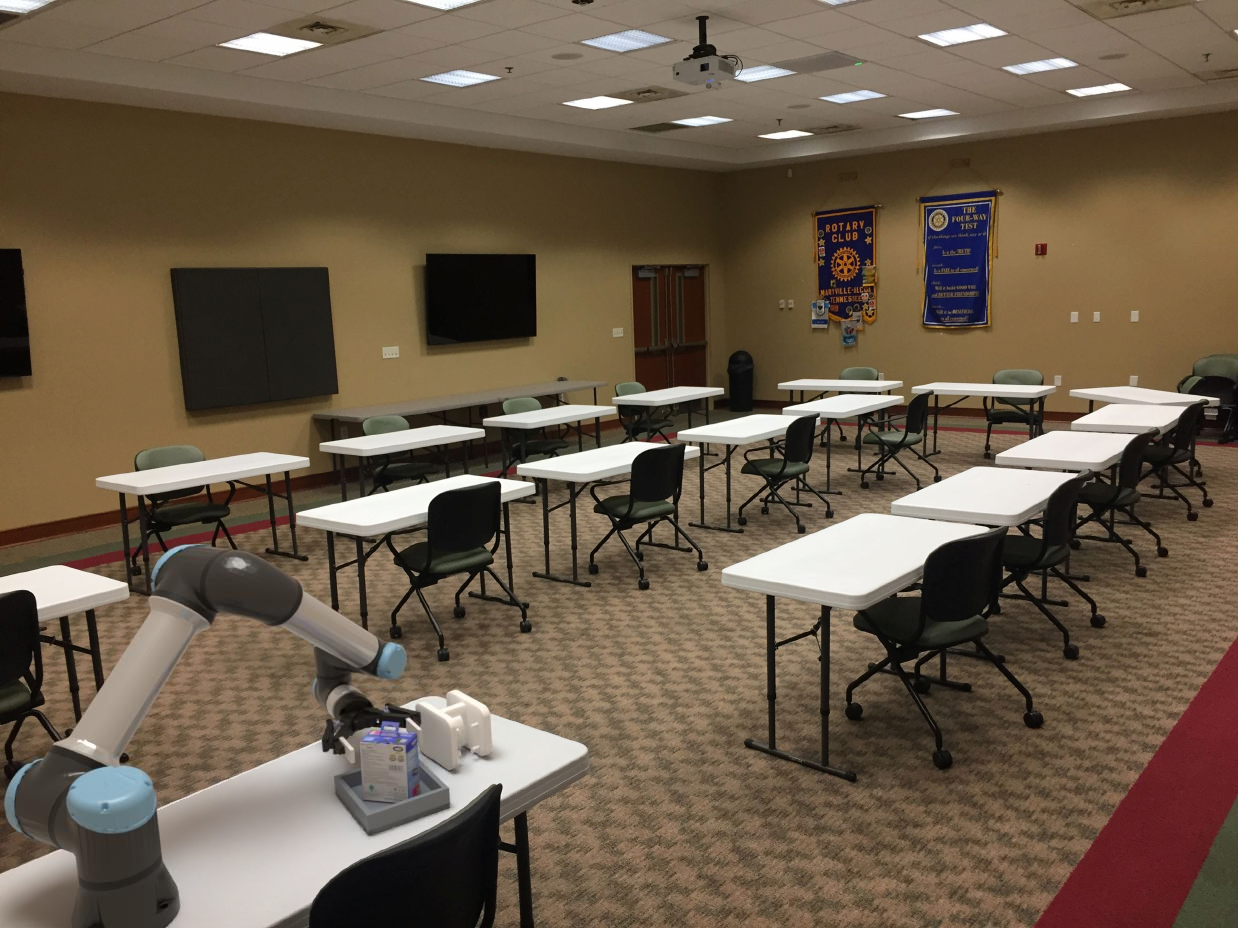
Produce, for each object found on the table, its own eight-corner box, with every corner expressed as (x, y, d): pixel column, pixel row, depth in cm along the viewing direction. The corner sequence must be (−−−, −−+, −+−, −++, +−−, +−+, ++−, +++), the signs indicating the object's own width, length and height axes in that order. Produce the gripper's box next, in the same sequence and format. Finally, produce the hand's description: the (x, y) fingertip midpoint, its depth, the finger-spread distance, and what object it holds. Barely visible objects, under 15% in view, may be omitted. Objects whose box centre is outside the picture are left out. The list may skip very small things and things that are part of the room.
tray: (368, 836, 170) (367, 815, 169) (335, 794, 185) (333, 775, 184) (450, 807, 179) (449, 787, 178) (412, 770, 194) (411, 751, 193)
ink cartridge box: (422, 790, 184) (417, 720, 181) (410, 805, 178) (405, 733, 176) (375, 786, 186) (370, 717, 183) (362, 800, 180) (356, 729, 178)
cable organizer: (415, 750, 202) (411, 699, 200) (457, 734, 209) (454, 685, 207) (452, 775, 191) (449, 722, 189) (495, 758, 198) (493, 706, 196)
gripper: (407, 709, 207) (448, 745, 189) (291, 741, 193) (324, 784, 176) (405, 676, 205) (446, 710, 188) (288, 707, 191) (321, 746, 174)
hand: (387, 746), depth 182 cm, fingers open, 13 cm apart
